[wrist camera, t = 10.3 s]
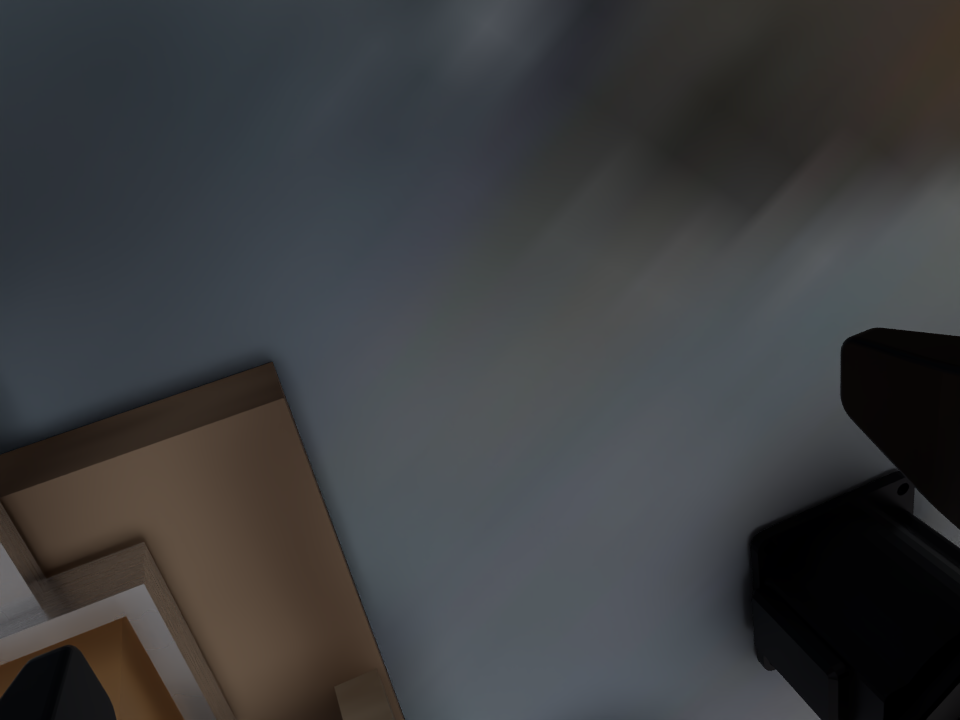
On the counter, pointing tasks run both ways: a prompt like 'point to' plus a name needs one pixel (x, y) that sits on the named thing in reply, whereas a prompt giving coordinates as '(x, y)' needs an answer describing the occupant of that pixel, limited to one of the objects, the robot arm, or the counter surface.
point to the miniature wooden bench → (364, 698)
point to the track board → (211, 536)
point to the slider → (104, 615)
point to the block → (114, 671)
